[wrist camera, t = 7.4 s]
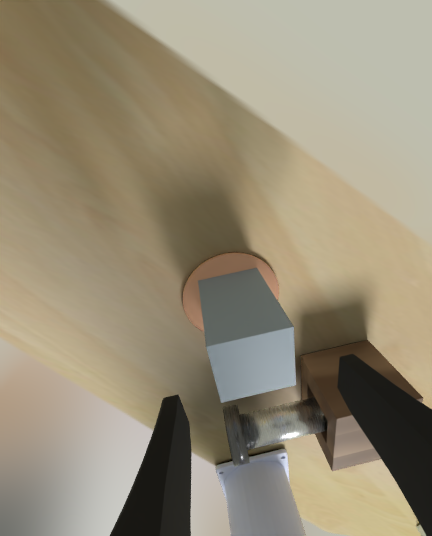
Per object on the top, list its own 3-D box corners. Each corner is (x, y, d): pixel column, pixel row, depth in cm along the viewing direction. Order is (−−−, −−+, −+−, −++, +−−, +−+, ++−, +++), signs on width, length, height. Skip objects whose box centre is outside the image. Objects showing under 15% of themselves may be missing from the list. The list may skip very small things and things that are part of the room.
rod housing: (359, 391, 24) (404, 453, 20) (301, 405, 24) (332, 471, 19) (367, 339, 21) (423, 398, 16) (300, 355, 21) (336, 419, 16)
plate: (279, 322, 19) (281, 325, 19) (194, 342, 19) (194, 345, 19) (274, 242, 16) (276, 244, 16) (171, 264, 16) (171, 266, 15)
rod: (316, 403, 23) (341, 451, 19) (228, 424, 22) (237, 477, 19) (317, 374, 21) (345, 421, 17) (221, 396, 21) (229, 449, 17)
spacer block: (262, 314, 18) (295, 385, 13) (209, 326, 18) (221, 402, 13) (256, 267, 16) (293, 326, 11) (197, 280, 16) (206, 346, 11)
